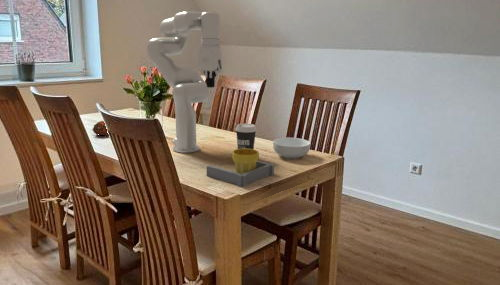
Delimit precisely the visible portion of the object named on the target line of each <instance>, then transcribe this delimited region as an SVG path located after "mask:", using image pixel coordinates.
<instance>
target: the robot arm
mask: <svg viewBox="0 0 500 285" xmlns="http://www.w3.org/2000/svg"><path fill="white" fill-rule="evenodd" d="M159 31H160V33H161V34H162V36H165V37H154V38H152V39H149V40H148V42H147V44H146V52H147V55H148V58H149V61H151V63H152V64H153V66H154V67H155V68H156V69H157V70H158V71H159V72H160V74H161V76H162V77H163V79H164V80H165V81H166V83H167V85H168V86H169V87H171V88H172V89H173V90H172V97H173V103H174V109H175V110H174V111H175V138H174V139H173V140H172V141H171V142H172V143H173V144H174V146H173V148H172V150H173V151H174V152H175V153H183V154H186V153H188V154H189V153H195V152H198V151H199V150H200V149H201V148H200V146H199V145H197V113H196V110H195V108H194V107H193V105H192V104H199V103H204V102H207V101H208V100H209V99H210V94H211V93H210V92H211V91H210V89H209V88H211V89H212V88H215V87H216V86H215V83H216V82H215V78H216V76H218V75H220V74H221V73H222V71H221V70H222V68H223V57H222V56H223V55H222V49H221V46H220V14H219V13H218V12H216V11H215V12H213V11H182V12H178V13H176V14H175V15H173V17H169V18H166V19H164V20H162V22H160V25H159ZM192 31H200V34H201V35H200V36H201V39H200V45H201V46H200V45H199V49H198V59H197V61H198V62H197V64H198V65H197V67H198V70H199V71H200V73H203V74H204V77H205V79H206V82H205V79H203V77H202V76H201V74H200V73H199V71H198V70H197V69H195V68H193V67H179V65H177V64H176V62H175V61H174V60H173V59H172V58H171V57H169V56H178V55H181V54H182V53H183V51H184V49H185V47H186V44H187V42H188V40H189V38H190V35H191V33H192Z"/></svg>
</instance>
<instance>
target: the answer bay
mask: <svg viewBox="0 0 500 285" xmlns="http://www.w3.org/2000/svg"><path fill="white" fill-rule="evenodd" d="M273 175H275V164H274V163H268V162H265V161H260V160H258V161H257V163H256V167H255V169H254V170H251V171H249V172H246V173H243V174H240V173H236V171H233V170H228V169H224V168H221V167H217V166H214V165H210V164H209V165H208V164H207V165H206V176H207V177H210V178H213V179H217V180H219V181H220V180H221V181H223V182H227V183H230V184H233V185H237V187H246V186H247V185H248V184H252V183H254V182H257V181H258V180H261V179H263V178H266V177H269V176H273Z"/></svg>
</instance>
